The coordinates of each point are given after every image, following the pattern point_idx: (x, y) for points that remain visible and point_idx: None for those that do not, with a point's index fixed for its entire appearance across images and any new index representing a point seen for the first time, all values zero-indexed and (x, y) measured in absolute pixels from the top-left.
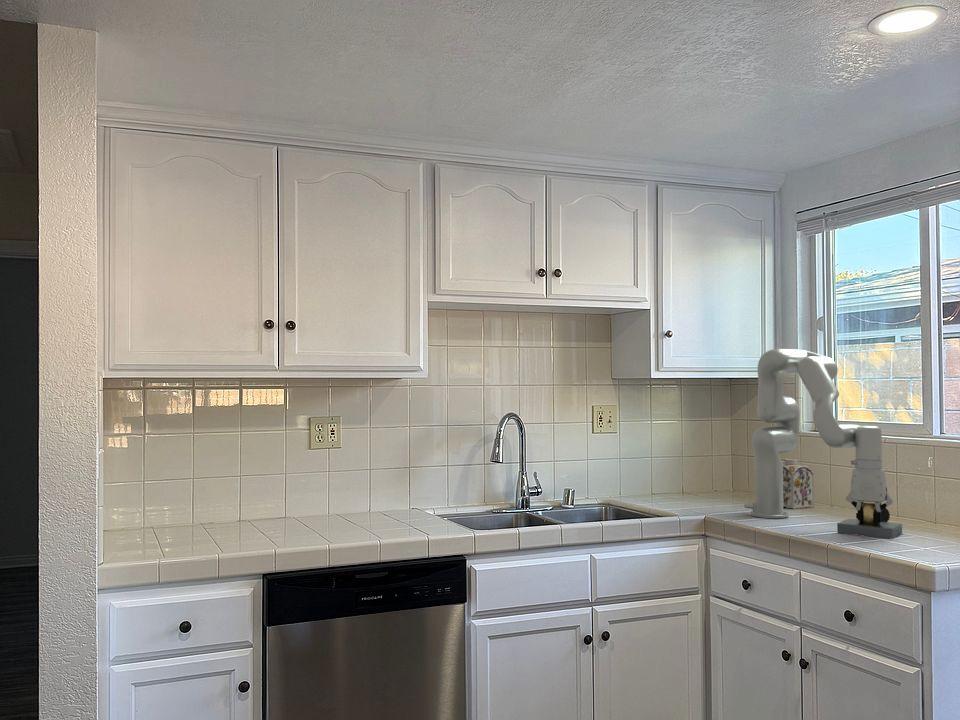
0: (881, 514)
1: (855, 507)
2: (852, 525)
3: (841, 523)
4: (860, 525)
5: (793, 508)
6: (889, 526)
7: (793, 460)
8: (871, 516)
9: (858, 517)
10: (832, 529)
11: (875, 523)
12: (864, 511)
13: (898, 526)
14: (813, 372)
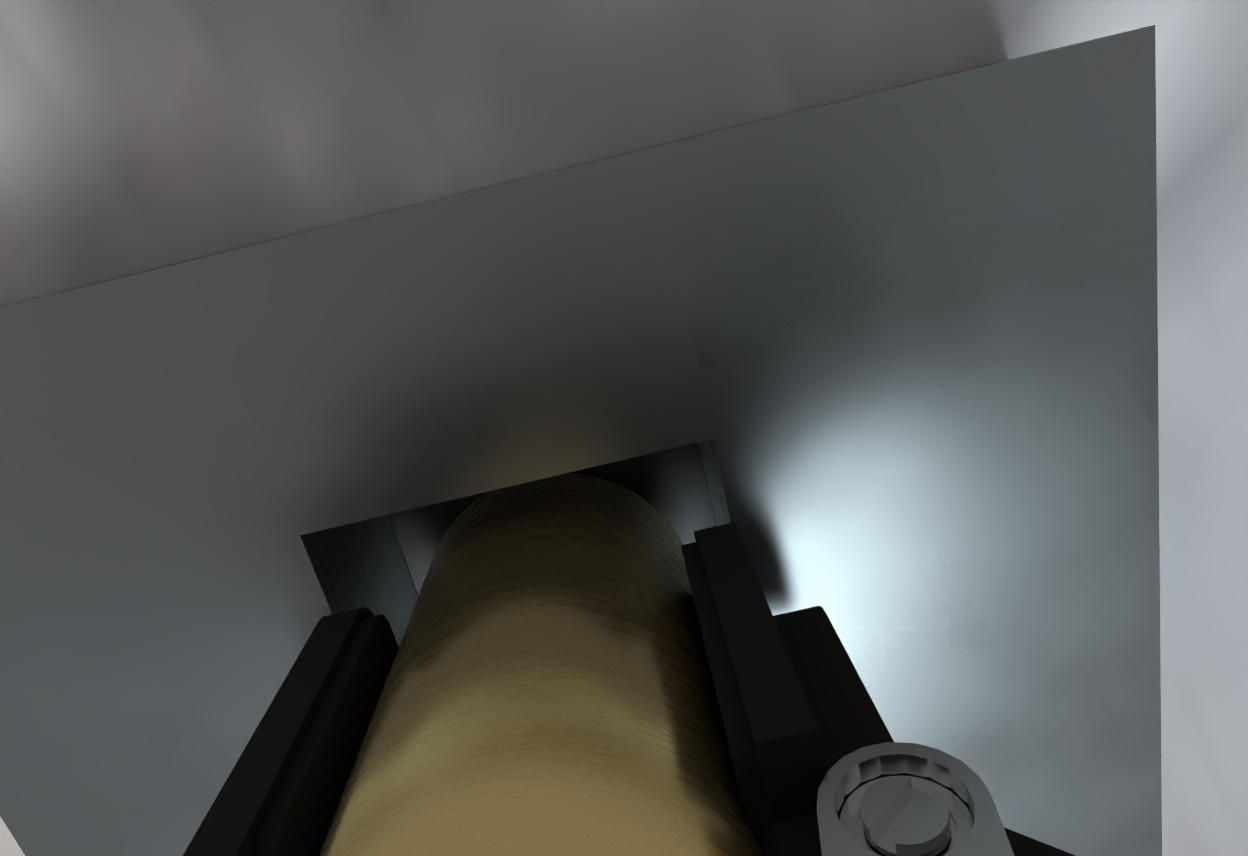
0: None
1: (1046, 851)
2: (730, 133)
3: (1053, 108)
4: (534, 211)
5: None
6: (40, 640)
7: None
8: (401, 696)
9: (812, 634)
10: (1226, 392)
11: (352, 612)
12: (610, 748)
13: (44, 853)
14: None
